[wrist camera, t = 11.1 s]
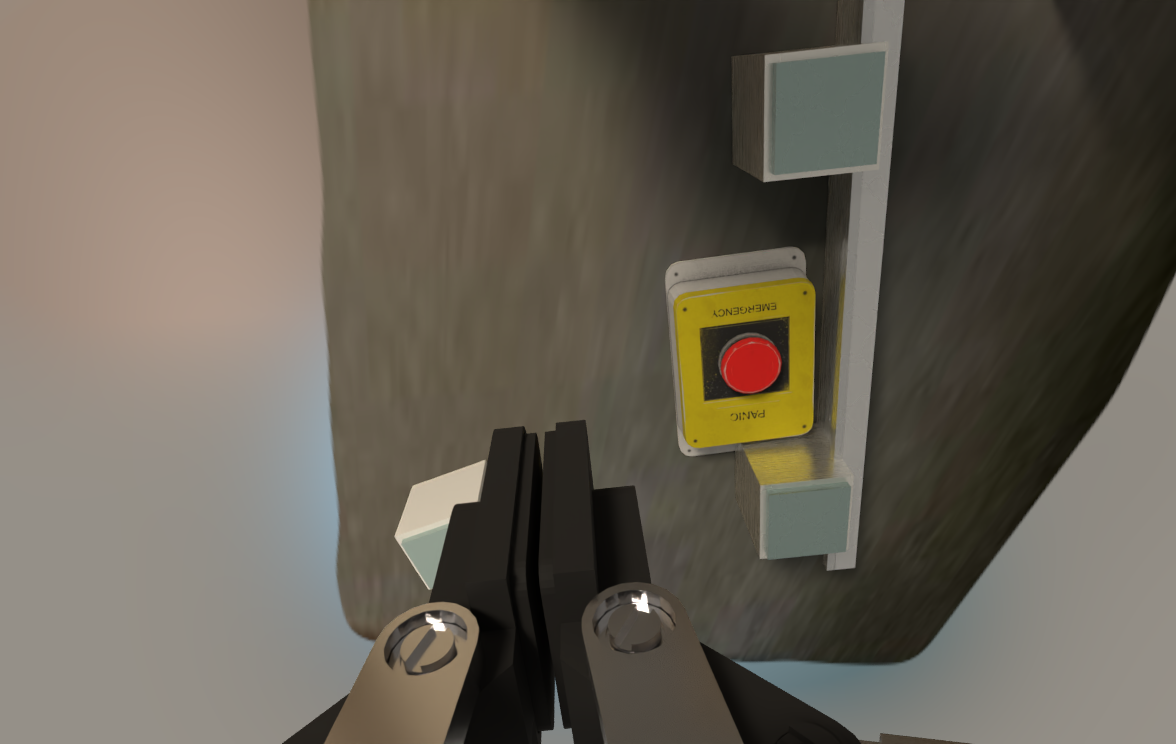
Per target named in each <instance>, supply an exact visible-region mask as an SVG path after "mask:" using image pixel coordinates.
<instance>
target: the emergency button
mask: <svg viewBox="0 0 1176 744" xmlns="http://www.w3.org/2000/svg"><path fill="white" fill-rule="evenodd" d="M665 286H666V298H667V310H668V322H669V334H670V346H671V358H672V370H673V382H674V394H675V407H676V419H677V431H678V443H679V447H680V450H681V452H683V453H684V454H685V455H687V456H699V455H707V454H715V453H723V452H730V451H735V444H736V443H743V442H751V441H759V440H767V439H775V438H783V437H791V436H798V435H802V434H805V433H807V432H808V431H809V430H811V428H812V425H813V407H814V350H815V290H814V287H813V285H812V283H811V282H810V281H809V280H808V278H807V277H806V259H805V255H804V253H803V252H802V251H801V250H800V249H799V248H797V247H792V246H790V247H782V248H775V249H768V250H760V251H753V252H745V253H738V254H730V255H723V256H715V257H708V258H701V259H693V260H686V261H678V262H676V263H674V264H671V265H670V267H669V268H668V270H667V271H666V276H665Z"/></svg>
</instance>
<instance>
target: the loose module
mask: <svg viewBox="0 0 1176 744" xmlns="http://www.w3.org/2000/svg"><path fill="white" fill-rule="evenodd" d="M486 467H487V462H486V460H484V461H481V462H478V463H475V464H473V465H470V466H467V467H464V468H461V469H459V470H456V471H453V472H450V473H447V474H445V475H442V476H439V477H436V478H433V479H431V480H428V481H425V482H422V483H419V484H416V485H414V486H412V489H411V492H410V495H409V497H408V500H407V503H406V506H405V509H404V512H403V514H402V517H401V520H400V523H399V526H398V528H397V531H396V534H395V538H396V540H397V541H398V543H399V544H400V546H401V548H402V549H403V551H404V552H405V554H406V555H407V557H408V558H409V560H410V562H411V563H412V565H413V566H414V568H415V569H416V571H417V572H418V574H419V576H420V577H421V579H422V580H423V582H424V583H425V585H426V586H427V588H428V590H429V589H432V588H433V585H434V581H435V577H436V573H437V569H438V565H439V561H440V557H441V553H442V549H443V545H444V541H445V537H446V533H447V529H448V525H449V521H450V517H451V513H452V510H453V507H454V505H456V504H460V503H470V502H479V501H480V499H481V494H482V488H483V483H484V478H485V473H486Z"/></svg>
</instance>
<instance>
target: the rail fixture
mask: <svg viewBox="0 0 1176 744" xmlns="http://www.w3.org/2000/svg"><path fill="white" fill-rule="evenodd" d="M904 3H905V0H838V3H837V23H836V43H835V45H831V46H822V47H813V48H804V49H795V50H786V51H777V52H768V53H759V54H750V55H741V56H732V158H733V164H734V165H735V166H737V167H739V168H740V169H742V170H744V171H745V172H747V173H749V174H751V175H752V176H754V177H756V178H757V179H759V180H761V181H762V182H770V181H779V180H788V179H797V178H806V177H816V176H825V175H829V182H828V202H827V222H826V242H825V262H824V281H823V301H822V321H821V341H820V361H819V381H818V401H817V421H816V423H813V425H812V428H811V430H809V431H808V432H807V433H805V434H802V435H798V436H791V437H783V438H775V439H767V440H759V441H751V442H743V443H736V444H735V498H736V501H737V503H738V506H739V508H740V511H741V513H742V516H743V518H744V521H745V523H746V526H747V528H748V531H749V533H750V536H751V538H752V541H753V544H754V546H755V549H756V551H757V554H758V556H759V559H765V558H768V560H771V559H781V558H791V557H801V556H810V555H820V554H823V564H824V566H825V568H826V570H827V571H828V570H838V569H848V568H855V562H856V551H857V540H858V528H859V517H860V505H861V494H862V483H863V471H864V460H865V448H866V437H867V425H868V414H869V403H870V391H871V380H872V368H873V357H874V345H875V334H876V323H877V311H878V300H879V288H880V277H881V266H882V254H883V243H884V231H885V220H886V208H887V197H888V186H889V174H890V163H891V151H892V140H893V128H894V117H895V106H896V94H897V83H898V71H899V60H900V49H901V37H902V26H903V14H904Z"/></svg>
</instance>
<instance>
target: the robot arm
mask: <svg viewBox="0 0 1176 744" xmlns="http://www.w3.org/2000/svg"><path fill="white" fill-rule="evenodd" d="M555 680H556V685H557V692H558V698H559V703H560V709H561V715H562V721H563V726H564V728H565V729H567V728H572V734H573V739H574V744H969V743H960V742H952V741H944V740H935V739H926V738H918V737H909V736H900V735H892V734H883V733H880V740H879V742H872V741H864V740H858V739H857V738H856V736H855V735H854V734H853V733H851V732H850V731H849V730H847V729H846V728H845V727H843V726H842V725H841V724H839V723H838V722H837V721H835V720H833V719H832V718H830V717H828V716H826V715H825V714H823V713H821V712H820V711H818V710H816V709H814V708H813V707H811V706H809V705H808V704H806V703H804V702H802V701H801V700H799V699H797V698H795V697H794V696H792V695H790V694H788V693H787V692H785V691H783V690H782V689H780V688H778V687H777V686H775V685H773V684H771V683H770V682H768V681H766V680H764V679H763V678H761V677H759V676H757V675H756V674H754V673H752V672H751V671H749V670H747V669H746V668H744V667H742V666H740V665H739V664H737V663H735V662H733V661H732V660H730V659H728V658H727V657H725V656H723V655H721V654H720V653H718V652H716V651H715V650H713V649H711V648H709V647H708V646H706V645H704V644H702V643H701V642H699V640H698V638H697V635H696V633H695V631H694V628H693V626H692V624H691V622H690V619H689V617H688V615H687V612H686V610H685V608H684V607H683V605H682V604H681V602H680V601H679V599H678V598H677V597H676V596H674V595H673V594H672V593H671V592H669V591H668V590H667V589H664V588H662V587H659V586H656V585H654V584H651V579H650V573H649V567H648V561H647V555H646V549H645V544H644V538H643V532H642V526H641V520H640V514H639V508H638V502H637V496H636V491H635V486H624V487H615V488H605V489H595V490H594V488H593V479H592V470H591V462H590V453H589V445H588V436H587V428H586V421H585V420H579V421H570V422H560V423H556V431H549V432H545V443H544V463H543V469H542V462H541V456H540V449H539V443H538V437H537V434H536V433H530V434H526V430H525V427H524V426H522V427H512V428H503V429H495V430H494V431H493V436H492V441H491V446H490V452H489V457H488V462H487V467H486V473H485V478H484V483H483V488H482V494H481V499H480V501H479V502H470V503H460V504H456V505H454V507H453V510H452V513H451V517H450V521H449V525H448V529H447V533H446V537H445V541H444V545H443V549H442V553H441V557H440V561H439V565H438V569H437V573H436V577H435V581H434V585H433V589H432V593H431V597H430V601H429V603H427V604H424V605H421V606H418V607H415V608H412V609H410V610H408V611H406V612H405V613H403V614H401V615H399V616H398V617H396V618H395V619H394V620H393V621H392V622H391V623H390V624H388V625H387V626H386V627H385V628H384V630H383V631H382V633H381V634H380V635H379V637H378V638H377V640H376V642H375V644H374V646H373V648H372V650H371V651H370V653H369V656H368V657H367V659H366V661H365V664H364V665H363V667H362V670H361V671H360V673H359V675H358V677H357V679H356V681H355V683H354V685H353V687H352V689H351V691H350V693H349V694H348V695H347V696H345V697H344V698H342V699H341V700H340V701H338V702H337V703H336V704H335V705H333V706H332V707H330V708H329V709H328V710H326V711H325V712H324V713H322V714H321V715H320V716H318V717H317V718H316V719H314V720H313V721H312V722H310V723H309V724H308V725H306V726H305V727H304V728H302V729H301V730H300V731H298V732H297V733H295V734H294V735H293V736H291V737H290V738H289V739H287V740H286V741H285V742H284V743H282V744H541V731H546V730H553V729H554V696H555V694H554V693H555Z"/></svg>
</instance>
